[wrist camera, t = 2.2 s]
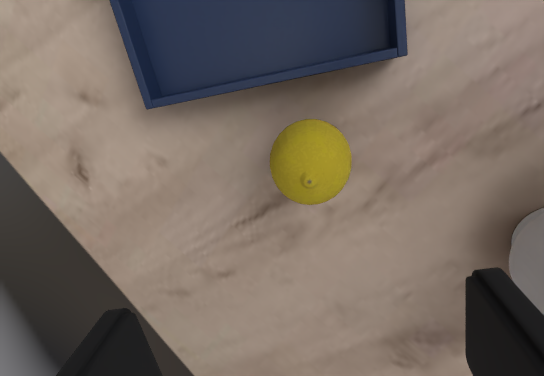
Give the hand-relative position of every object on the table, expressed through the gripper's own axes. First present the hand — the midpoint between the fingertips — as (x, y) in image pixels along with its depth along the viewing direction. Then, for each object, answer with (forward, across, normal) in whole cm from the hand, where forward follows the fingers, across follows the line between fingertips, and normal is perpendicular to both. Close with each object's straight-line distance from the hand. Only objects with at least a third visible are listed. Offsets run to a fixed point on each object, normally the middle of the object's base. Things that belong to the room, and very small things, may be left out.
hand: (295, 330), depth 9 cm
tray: (+19, +1, -12) cm, 22 cm away
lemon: (+19, -1, 0) cm, 19 cm away
